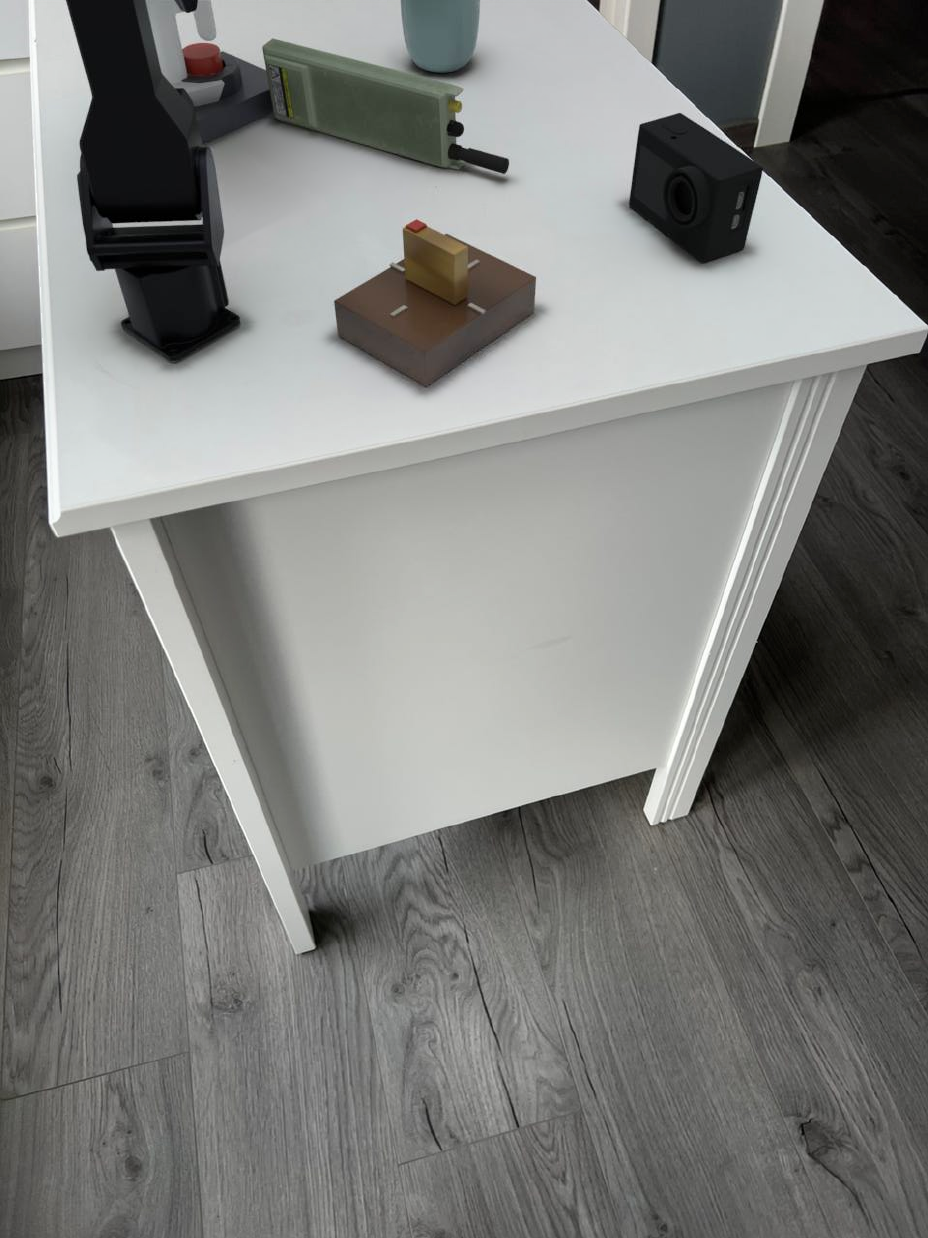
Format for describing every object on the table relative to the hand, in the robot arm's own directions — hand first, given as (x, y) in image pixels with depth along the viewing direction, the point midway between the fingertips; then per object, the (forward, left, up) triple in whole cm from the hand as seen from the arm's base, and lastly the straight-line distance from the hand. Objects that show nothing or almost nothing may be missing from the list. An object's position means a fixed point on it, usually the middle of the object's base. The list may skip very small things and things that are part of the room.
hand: (189, 10), depth 83 cm
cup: (+27, -4, -12) cm, 29 cm away
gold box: (-6, -34, -8) cm, 35 cm away
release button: (+5, +6, -8) cm, 11 cm away
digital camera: (+17, -40, -12) cm, 45 cm away
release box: (+5, +6, -12) cm, 14 cm away
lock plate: (-6, -34, -12) cm, 36 cm away
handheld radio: (+11, -12, -12) cm, 20 cm away
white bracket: (+2, +7, -2) cm, 7 cm away
